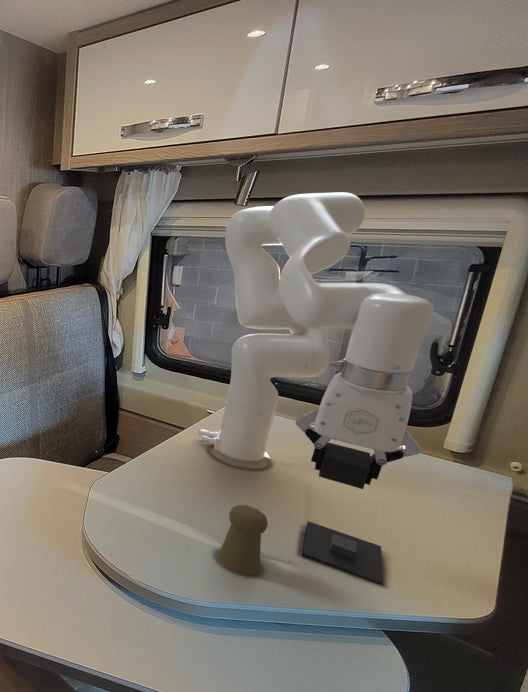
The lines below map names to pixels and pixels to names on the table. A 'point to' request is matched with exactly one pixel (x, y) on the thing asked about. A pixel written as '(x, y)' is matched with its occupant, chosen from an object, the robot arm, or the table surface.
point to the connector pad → (345, 465)
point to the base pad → (340, 562)
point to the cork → (243, 540)
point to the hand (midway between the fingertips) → (341, 472)
